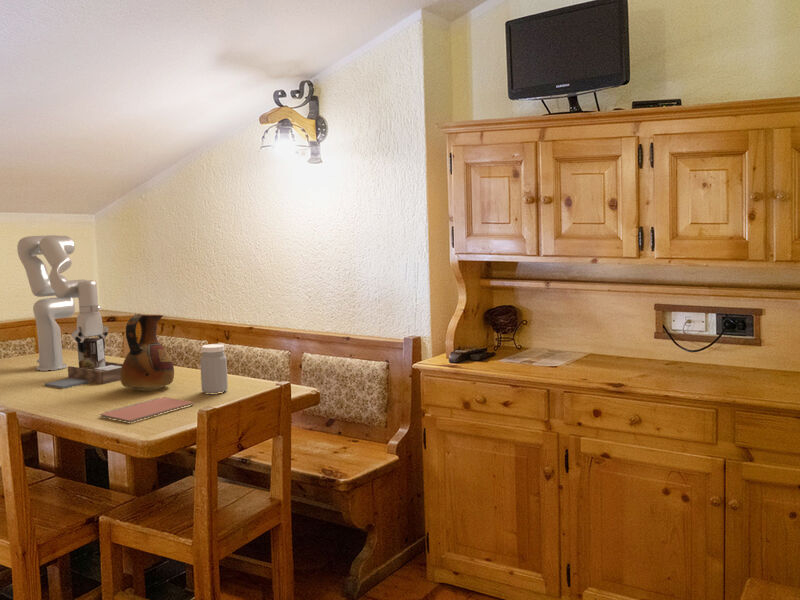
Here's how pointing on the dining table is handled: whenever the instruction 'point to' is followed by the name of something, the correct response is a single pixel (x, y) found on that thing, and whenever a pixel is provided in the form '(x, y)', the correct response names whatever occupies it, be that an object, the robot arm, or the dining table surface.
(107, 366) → the grey offcut
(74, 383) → the slate mat
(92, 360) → the coffee box
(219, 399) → the dining table surface
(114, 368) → the grey offcut
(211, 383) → the jar
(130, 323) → the ceramic pitcher
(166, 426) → the dining table surface
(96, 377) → the tray
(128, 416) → the notebook
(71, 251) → the robot arm
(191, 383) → the dining table surface
